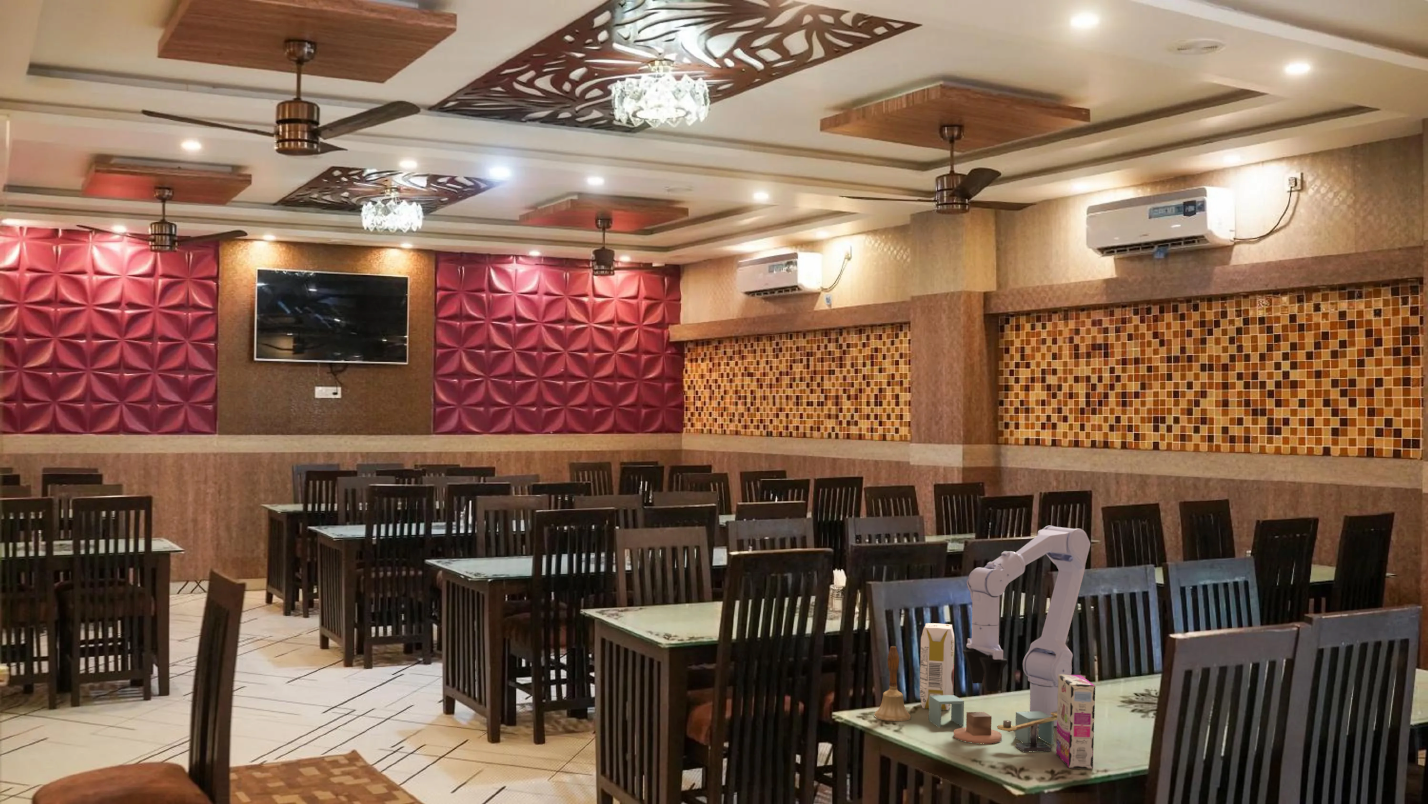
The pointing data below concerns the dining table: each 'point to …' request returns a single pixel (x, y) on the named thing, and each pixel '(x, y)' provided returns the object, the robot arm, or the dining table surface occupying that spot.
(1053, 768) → the dining table surface
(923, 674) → the juice carton
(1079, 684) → the candy bar box
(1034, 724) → the balance
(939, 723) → the teal cover
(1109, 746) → the dining table surface
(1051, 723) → the teal cover
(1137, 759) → the dining table surface
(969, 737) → the terracotta dish
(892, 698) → the hand bell
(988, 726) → the walnut block
